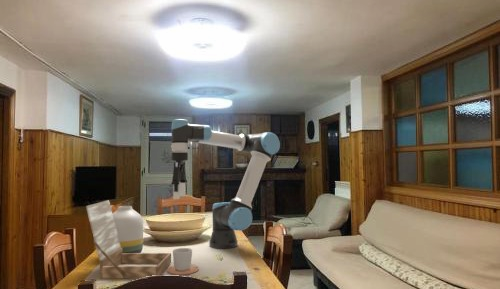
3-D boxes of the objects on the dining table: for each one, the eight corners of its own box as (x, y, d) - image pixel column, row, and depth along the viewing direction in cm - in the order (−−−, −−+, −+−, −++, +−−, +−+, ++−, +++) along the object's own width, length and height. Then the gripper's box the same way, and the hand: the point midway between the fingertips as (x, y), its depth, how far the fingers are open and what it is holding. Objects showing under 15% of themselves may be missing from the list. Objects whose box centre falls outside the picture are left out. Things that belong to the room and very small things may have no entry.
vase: (121, 263, 170) (122, 209, 171) (98, 258, 179) (98, 207, 180) (150, 255, 185) (150, 205, 186) (127, 251, 194) (127, 203, 195)
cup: (174, 265, 163) (174, 246, 164) (193, 264, 164) (193, 246, 164) (171, 272, 153) (171, 252, 153) (191, 272, 153) (191, 252, 154)
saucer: (200, 266, 165) (200, 264, 165) (195, 274, 152) (195, 272, 152) (171, 266, 165) (171, 264, 165) (163, 274, 152) (163, 272, 152)
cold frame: (171, 263, 170) (171, 199, 171) (157, 279, 147) (157, 205, 148) (107, 263, 170) (107, 200, 172) (83, 279, 147) (84, 206, 149)
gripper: (177, 152, 191) (177, 195, 190) (165, 151, 166) (165, 200, 165) (192, 152, 190) (192, 195, 190) (182, 151, 166) (182, 200, 165)
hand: (179, 197), depth 177 cm, fingers open, 13 cm apart
